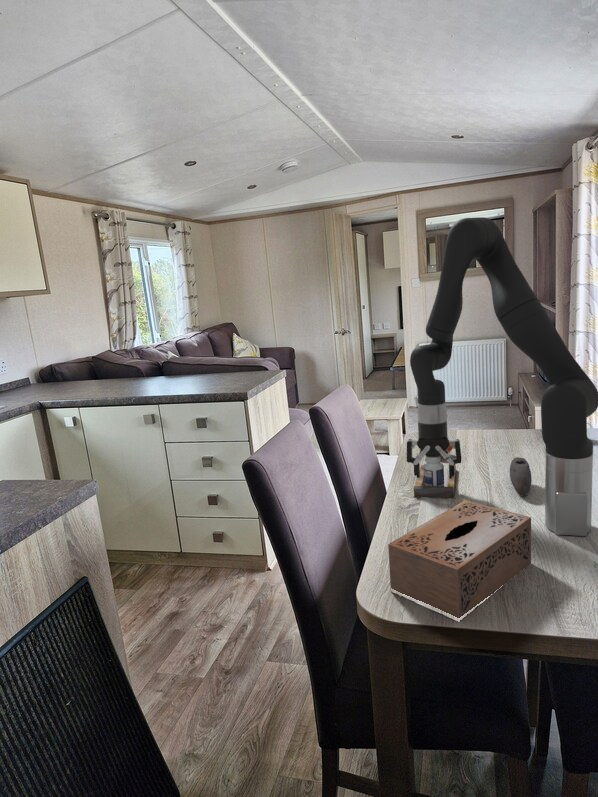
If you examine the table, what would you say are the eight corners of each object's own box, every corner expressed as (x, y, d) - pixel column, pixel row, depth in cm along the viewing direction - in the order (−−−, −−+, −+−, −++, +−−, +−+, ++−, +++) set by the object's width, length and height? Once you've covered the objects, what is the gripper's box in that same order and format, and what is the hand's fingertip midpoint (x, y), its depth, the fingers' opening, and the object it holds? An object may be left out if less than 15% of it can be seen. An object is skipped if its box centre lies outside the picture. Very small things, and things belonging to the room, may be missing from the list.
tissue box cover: (459, 624, 92) (457, 569, 90) (390, 593, 103) (388, 544, 101) (531, 564, 109) (531, 517, 107) (466, 543, 119) (464, 500, 117)
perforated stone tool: (533, 501, 137) (533, 475, 136) (511, 500, 139) (510, 474, 138) (529, 480, 151) (529, 456, 150) (509, 479, 153) (509, 455, 151)
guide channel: (453, 498, 143) (453, 489, 142) (414, 497, 146) (413, 488, 145) (455, 470, 163) (455, 462, 163) (421, 469, 166) (420, 461, 166)
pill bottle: (442, 485, 152) (441, 452, 150) (446, 493, 147) (444, 458, 145) (423, 486, 153) (421, 453, 151) (425, 493, 148) (424, 459, 146)
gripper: (403, 423, 144) (406, 481, 147) (459, 422, 140) (461, 482, 143) (406, 416, 151) (409, 472, 154) (460, 415, 147) (462, 473, 150)
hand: (434, 477), depth 149 cm, fingers open, 8 cm apart
